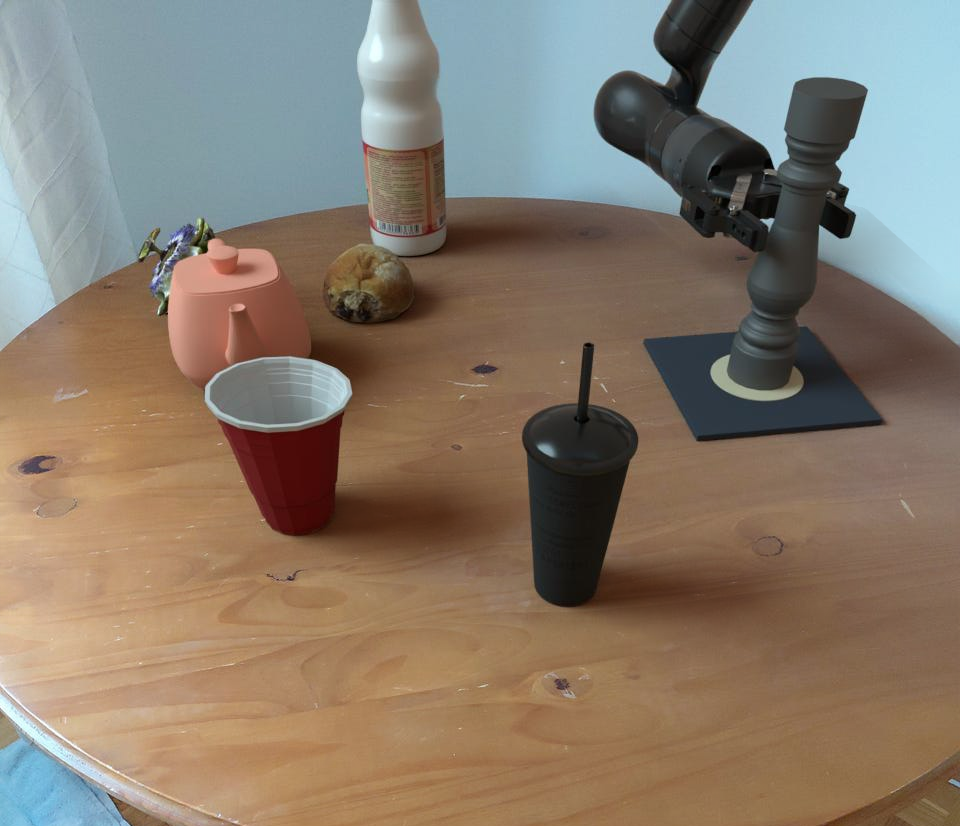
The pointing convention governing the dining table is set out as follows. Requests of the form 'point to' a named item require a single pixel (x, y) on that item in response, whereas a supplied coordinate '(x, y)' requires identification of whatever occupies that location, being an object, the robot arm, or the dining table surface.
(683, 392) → the placemat
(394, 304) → the bread roll
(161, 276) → the passion flower
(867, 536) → the dining table surface
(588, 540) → the drinking cup
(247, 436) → the plastic cup
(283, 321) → the teapot
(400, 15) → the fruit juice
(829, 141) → the candle holder
